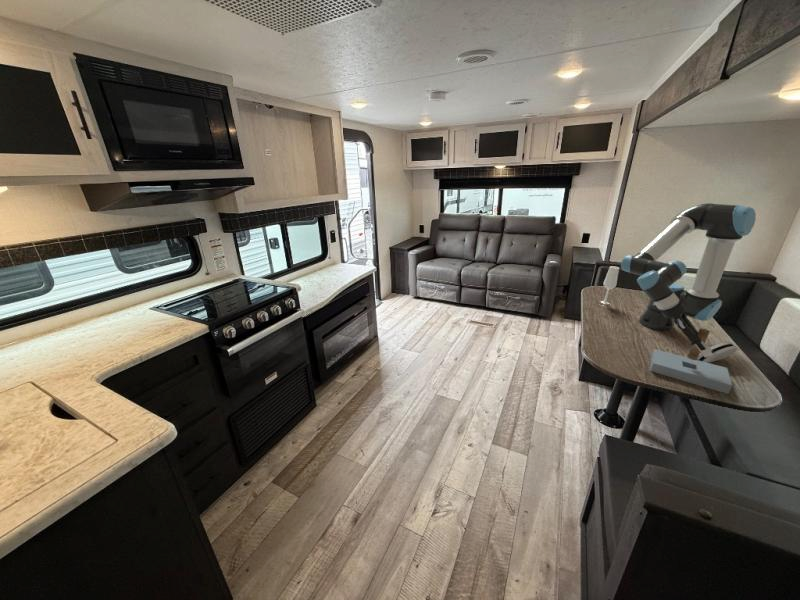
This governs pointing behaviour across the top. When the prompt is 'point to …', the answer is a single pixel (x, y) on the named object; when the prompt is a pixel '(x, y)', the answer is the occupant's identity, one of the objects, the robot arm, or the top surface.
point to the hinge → (719, 352)
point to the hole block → (691, 371)
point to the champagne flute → (610, 281)
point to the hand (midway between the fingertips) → (708, 353)
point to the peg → (694, 350)
